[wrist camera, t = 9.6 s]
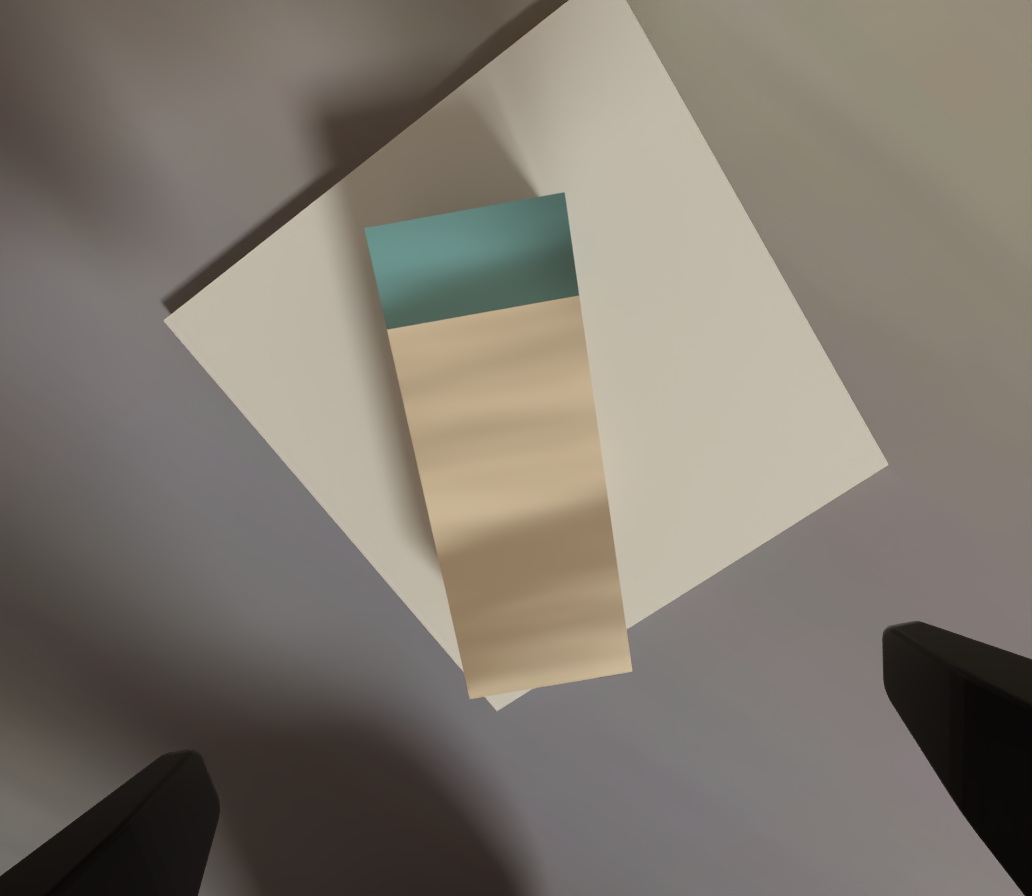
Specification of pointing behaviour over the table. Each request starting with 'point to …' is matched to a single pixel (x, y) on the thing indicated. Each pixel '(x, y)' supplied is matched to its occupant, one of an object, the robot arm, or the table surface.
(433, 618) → the cream square tile
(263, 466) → the table surface
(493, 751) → the table surface
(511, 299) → the birch block
